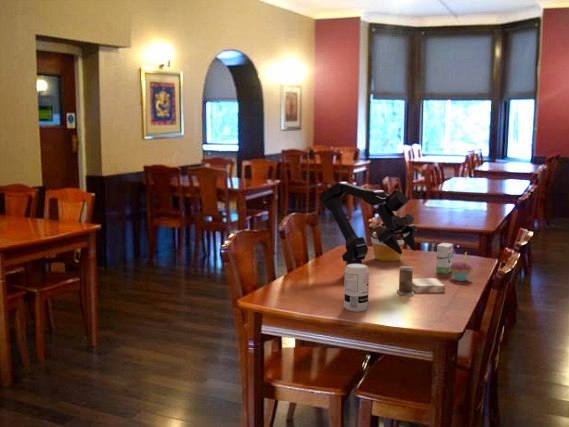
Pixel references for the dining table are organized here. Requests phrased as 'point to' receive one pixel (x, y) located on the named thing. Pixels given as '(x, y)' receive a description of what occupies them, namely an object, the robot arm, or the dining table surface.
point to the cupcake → (460, 270)
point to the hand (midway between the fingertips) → (408, 252)
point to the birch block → (427, 285)
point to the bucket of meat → (382, 250)
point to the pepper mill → (405, 281)
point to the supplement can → (356, 287)
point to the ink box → (444, 258)
